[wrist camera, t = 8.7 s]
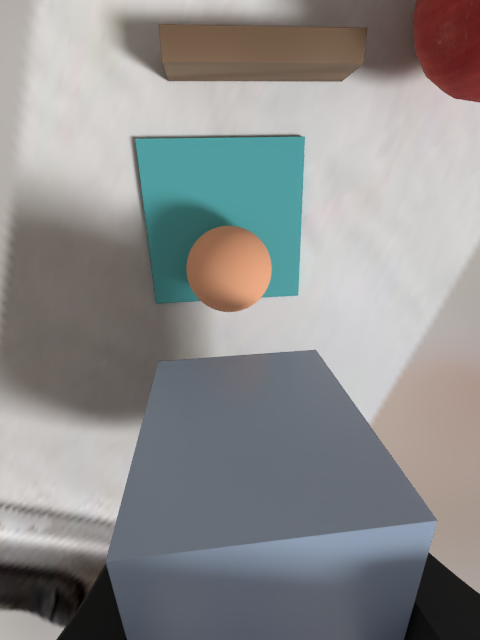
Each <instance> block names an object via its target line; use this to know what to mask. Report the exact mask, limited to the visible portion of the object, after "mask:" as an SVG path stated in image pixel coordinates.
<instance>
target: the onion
mask: <svg viewBox="0 0 480 640" xmlns="http://www.w3.org/2000/svg"><path fill="white" fill-rule="evenodd" d="M413 25H414V43H415V53H416V55H417V57H418V60H419V62H420V64H421V66H422V69H423V71H424V73H425V75H426V77H427V78H428V79H430V80H431V81H432V82H433V83H434V84H435V85H436V86H438V87H439V88H440V89H441V90H442V91H443V92H445V93H446V94H448V95H450V96H451V97H453V98H455V99H462V100H468V101H474V102H480V0H417V1H416V6H415V11H414V19H413Z"/></svg>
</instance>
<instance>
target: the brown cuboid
mask: <svg viewBox="0 0 480 640" xmlns="http://www.w3.org/2000/svg"><path fill="white" fill-rule="evenodd" d="M159 34H160V45H161V56H162V63H163V67H164V70H165V73H166V76H167V79H168V81H343V80H344V79H345V78H346V77H348V76H349V75H350V74H351V73H353V72H354V71H355V70H356V69H358V68H359V67H360V66H361V65H363V64H364V56H365V45H366V35H367V28H349V27H292V26H234V25H177V24H159Z"/></svg>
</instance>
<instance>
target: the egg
mask: <svg viewBox="0 0 480 640" xmlns="http://www.w3.org/2000/svg"><path fill="white" fill-rule="evenodd" d="M186 268H187V278H188V281H189V284H190V287H191V289H192V291H193V292H194V294H195V295H196V296H197V297H198V299H199V300H200V301H202V302H203V303H204V304H206V305H207V306H209V307H211V308H213V309H215V310H219V311H224V312H235V311H240V310H243V309H246V308H248V307H250V306H252V305H253V304H254V303H256V302H257V301H258V300H259V299H260V298H261V297H262V296H263V294H264V293H265V291H266V290H267V288H268V285H269V283H270V279H271V273H272V265H271V259H270V255H269V253H268V250H267V248H266V247H265V245H264V244H263V242H262V241H261V240H260V239H259V238H258V237H257V236H256V235H255V234H253V233H252V232H250V231H248V230H246V229H244V228H241V227H237V226H221V227H217V228H214V229H211V230H209V231H208V232H206V233H204V234H203V235H202V236H201V237H200V238H199V239H198V240H197V241H196V242H195V244H194V245H193V247H192V248H191V250H190V253H189V256H188V259H187V267H186Z"/></svg>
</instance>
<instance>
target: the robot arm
mask: <svg viewBox="0 0 480 640" xmlns="http://www.w3.org/2000/svg"><path fill="white" fill-rule="evenodd" d="M57 640H127V638H126V635H125V631H124V627H123V624H122V620H121V616H120V613H119V609H118V605H117V602H116V598H115V594H114V591H113V587H112V583H111V580H110V576H109V572H108V568H107V565H106V564H105V566H104V568H103V569H102V571H101V573H100V575H99V576H98V578H97V580H96V581H95V583H94V585H93V586H92V588H91V589H90V591H89V593H88V594H87V596H86V597H85V599H84V600H83V602H82V603H81V605H80V606H79V608H78V609H77V611H76V612H75V614H74V615H73V617H72V618H71V620H70V621H69V623H68V624H67V626H66V627H65V628H64V630H63V631H62V633H61V634H60V636H59V637H58V638H57ZM404 640H480V594H479V593H478V592H476V591H475V590H474V589H472V588H471V587H470V586H468V585H467V584H466V583H465V582H463V581H462V580H461V579H460V578H458V577H457V576H456V575H455V574H453V573H452V572H451V571H450V570H449V569H447V568H446V567H445V566H444V565H443V564H442V563H440V562H439V561H438V560H437V559H436V558H435V557H433V556H432V555H431V554H430V553H429V552H428V556H427V559H426V563H425V567H424V570H423V574H422V577H421V581H420V584H419V588H418V591H417V595H416V598H415V602H414V606H413V609H412V613H411V616H410V620H409V623H408V627H407V630H406V634H405V637H404Z"/></svg>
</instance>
